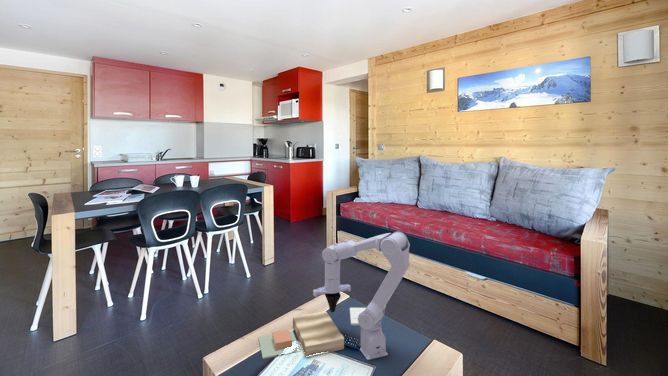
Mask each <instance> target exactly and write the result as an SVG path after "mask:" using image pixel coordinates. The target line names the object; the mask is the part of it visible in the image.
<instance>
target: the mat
mask: <svg viewBox="0 0 668 376" xmlns="http://www.w3.org/2000/svg"><path fill="white" fill-rule="evenodd" d="M289 333H290V335H291V338H292V342H294V341H296V342H297V343H298V341H297V340H298V339H297V338H296V334H295V333H294V331H293V330H289ZM258 342H259V349H260V352H261V358H262V360H267V359H271V358H272V359H273V358H275V357H276V358H277V357H278V356H277V355H279V354H281V353H283V351H284V349H285V348H283V349H279V350H275V346H274V343H273V339H272V334H269V335H264V336H259V337H258ZM297 343H296V344H297ZM298 347H299V348H297V347H296V348H295V350H294V349H293V350H294V351H297V349H299V350H300V351H301V348H300V347H301V346H298Z"/></svg>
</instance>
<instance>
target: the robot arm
mask: <svg viewBox="0 0 668 376" xmlns="http://www.w3.org/2000/svg"><path fill="white" fill-rule="evenodd" d="M410 246H411V243H410V242H409V239H408V237H407V235H406V234H405V233H403V232H402V231H394V232H393V233H392V232H388V233H387V232H386V233H382V234H379V235H375V236H373V237H369V238H366V239H362V240H359V241H357V242H356V241H354V240H352V239H350V240H349V239H348V238H347V239H345V240H343V242H340V243H338V242H336V243H333V244H332V245H330V246H328V247H325V248H324V249H323V250H322V251H321V258H322V259H323V261H324V286H322V287H318V288H316V289H313V290H312V292H313V293H312V295H313V296H314V297H315V298H316V297H318V296H323V295H324V296H325V298H326V302H327V303H328V308H329V309H328V310H329V311H330V313H334V312H335V311H336V308H337V305H338V303H339V300H340V298H341V297H342V296H341V293H342V292H347V291H348V292H351V290H352V286H351V285H350V284H349V283H346V284H341V262H342V261H341V260H344V259H348V258H352V257H356V256H357V255H358V252H361V251H362V252H363V251H367V250H372V249H376V250H377V252H378V253H379V252H382V254H383V256H384V257H385V259H387V261H388V263H390V268H389V270H388V272H387V274H386V275H385V277H384V279H383V280H382V282H381V284H380V286H379V287H378V290H377V291H376V293H375V294H374V296H373V298H372V300H371V301H370V303H369V304H368V305H367V306H366V307H365V308H366V309H365V310H364V311H363V312H362V313H360V314H359V316H358V323H359V326H360V342H361V348H360V349H359V350H360V352H361V353H362V355H363V356H364V357H365V360H367V361H370V360H374V359H377V358H382V357H386V356H389V355H388V354H389V353H388V351H387V350H386V349H387V348H386V347H387V346H386V345H387V343H386V342H387V339H386V336H385V334H384V332H383V330H382V319H383V318H384V316H385V310H386V308H387V304H388V302H389V301H390V299H391V297H392V295H393V294H394V292H395V291H396V289H397V288H398V286H399V284H400V282H401V281H402V279H403V277H404V275H406V272H407V270H408V269H409V267H410Z"/></svg>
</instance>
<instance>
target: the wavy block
mask: <svg viewBox="0 0 668 376" xmlns="http://www.w3.org/2000/svg"><path fill="white" fill-rule="evenodd" d="M292 327H293V330H294V332H295V336H296V337H297V340H298V342H299V341H300V342H299V344H300V343H301V344H300V346H301V345H302V347H301V349H302V348H303V349H302V351H303V350H304V351H303V353H304V352H305V354H304V356H305V355H306V356H309V355H313V354H316V353H321V352H327V351H331V352H330V353H332V352H336V351H337V352H338V351H341V350H344V349H345V337H344V335H342V333H341V331H340V330H339V328H338V327H337V325H336V324H335V322H334V320H332V318H331V316H330V314H328V312H327V311H326V310H323V311H317V312H313V313H307V314H302V315H295V316H292ZM306 356H305V357H306Z"/></svg>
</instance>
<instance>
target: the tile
mask: <svg viewBox="0 0 668 376" xmlns="http://www.w3.org/2000/svg"><path fill="white" fill-rule="evenodd" d="M289 331H290V330H289V329H283V330H277V331H274V332H273V331H272V333H271V335H272V339H273V343H274V346H275V350H279V349H283V348H287V347H291V346H292V338H291V335H290V333H289Z"/></svg>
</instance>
